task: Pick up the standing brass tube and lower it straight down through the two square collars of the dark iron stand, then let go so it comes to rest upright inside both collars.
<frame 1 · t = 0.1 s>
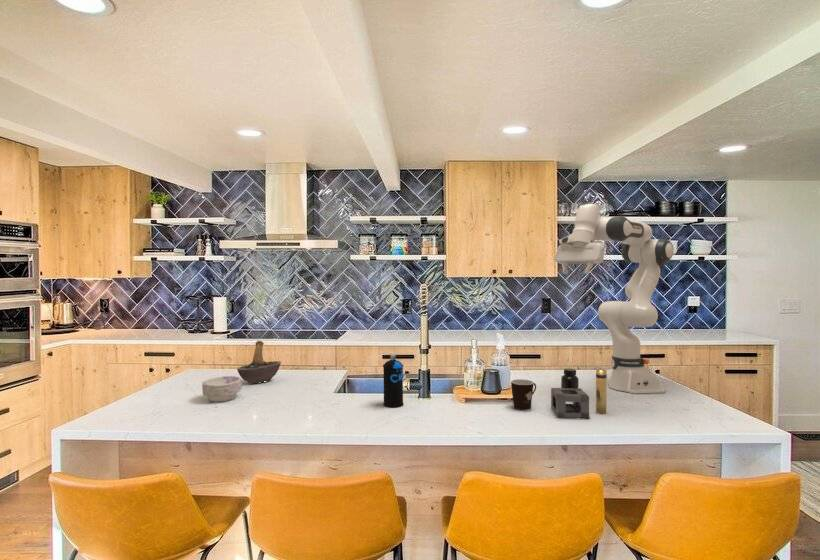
hand: (575, 273, 178), 52 cm above the worktop, tool tilted 20°, fingers open, 8 cm apart
coffee mug: (525, 407, 174), on the worktop
collar stand: (569, 413, 166), on the worktop
aerosol can: (393, 405, 178), on the worktop
grey stone bowl: (222, 399, 188), on the worktop
mortar and pestle: (259, 382, 214), on the worktop
supplement bottle: (569, 398, 186), on the worktop
brass tube: (601, 412, 167), on the worktop
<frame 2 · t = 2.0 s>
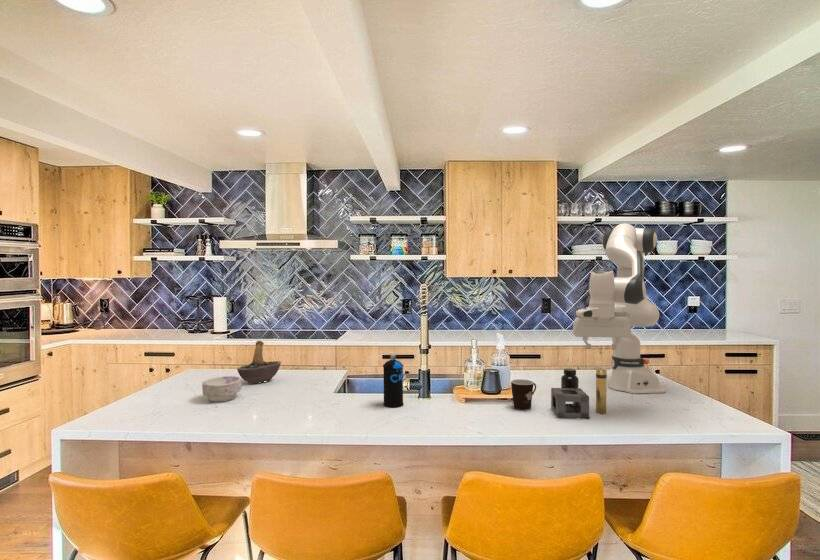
hand: (601, 349, 166), 24 cm above the worktop, tool pointing down, fingers open, 8 cm apart
nothing on the worktop moved.
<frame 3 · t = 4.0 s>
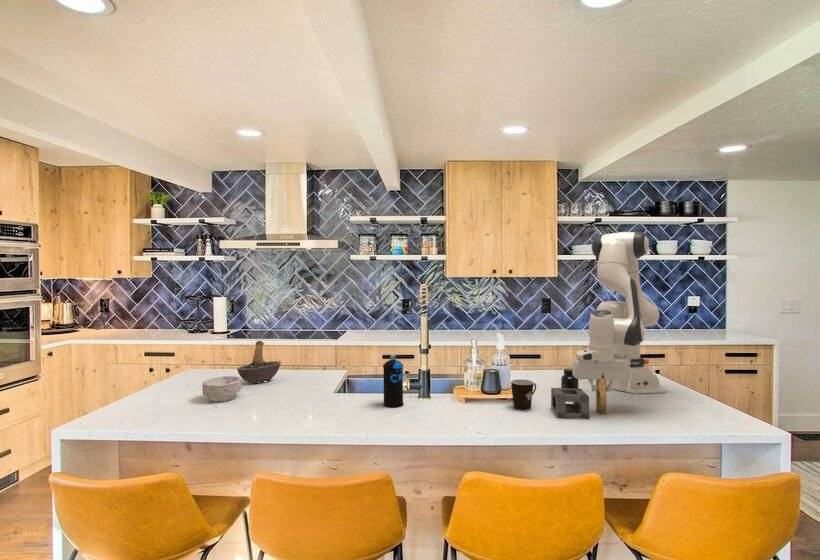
hand: (601, 391, 167), 8 cm above the worktop, tool pointing down, fingers closed on brass tube, 4 cm apart
brass tube: (601, 412, 167), on the worktop, touching gripper
everything else where it was.
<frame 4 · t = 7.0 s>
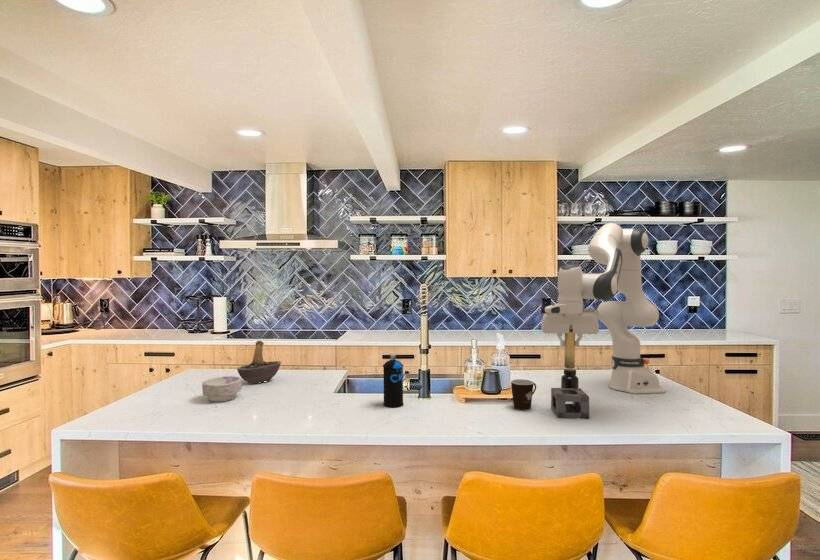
hand: (569, 345, 165), 25 cm above the worktop, tool pointing down, fingers closed on brass tube, 4 cm apart
brass tube: (569, 367, 165), point 17 cm above the worktop, touching gripper
everything else where it was.
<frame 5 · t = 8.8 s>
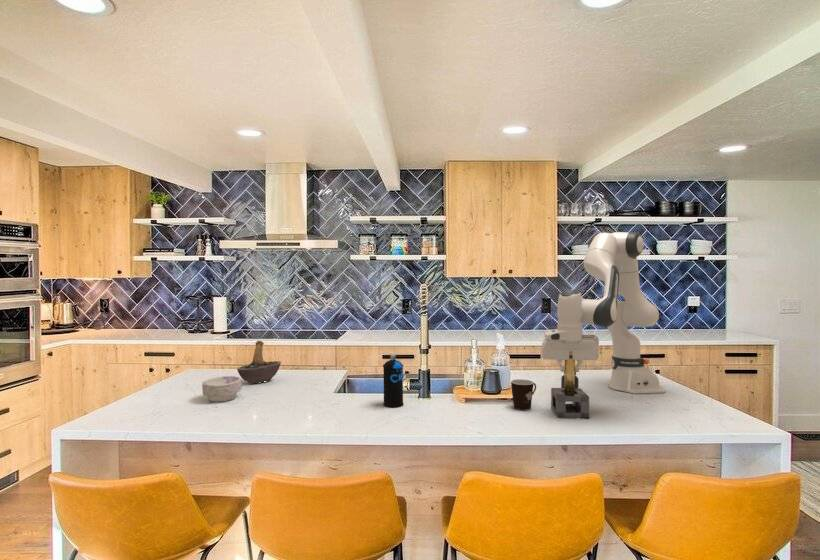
hand: (569, 371, 166), 16 cm above the worktop, tool pointing down, fingers closed on brass tube, 4 cm apart
brass tube: (569, 393, 166), point 8 cm above the worktop, touching gripper
everything else where it was.
when the fingers open (10 cm above the worktop, at t = 10.3 s): brass tube drops 2 cm, resting in collar stand.
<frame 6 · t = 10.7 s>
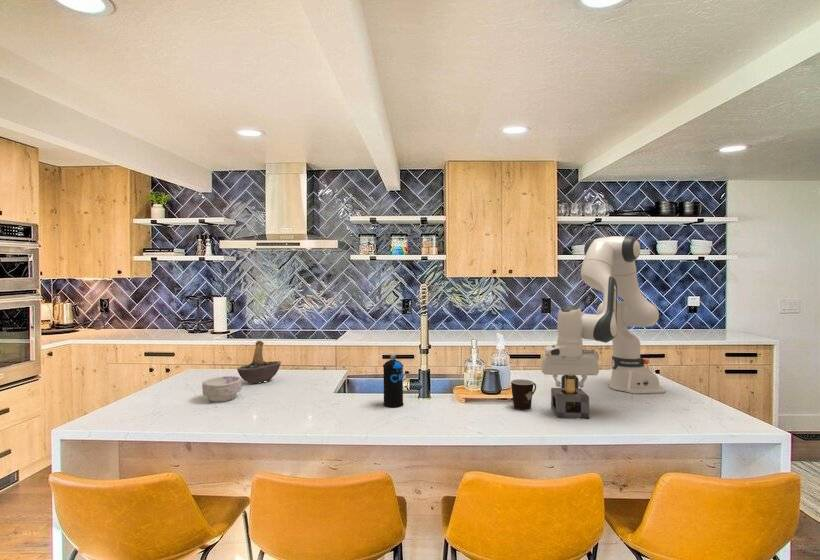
hand: (569, 386, 166), 10 cm above the worktop, tool pointing down, fingers open, 7 cm apart
brass tube: (569, 413, 166), resting in collar stand
everything else where it was.
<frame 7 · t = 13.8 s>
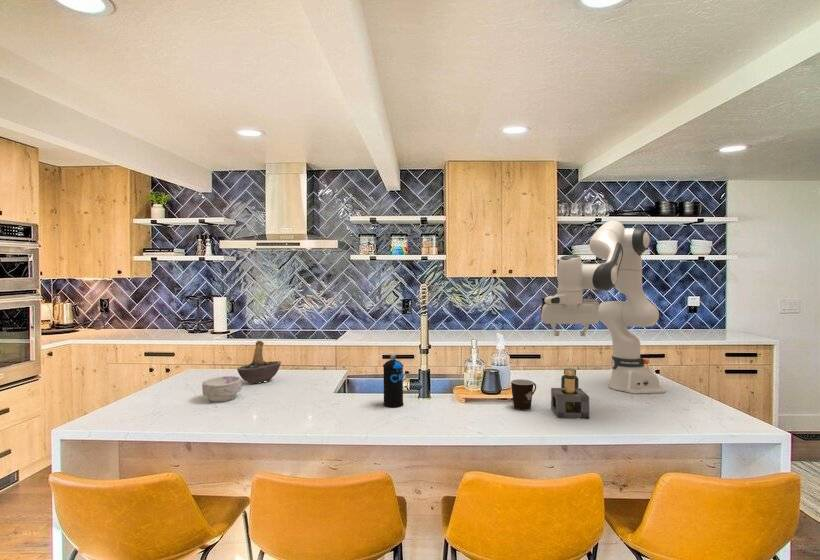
hand: (569, 335, 165), 29 cm above the worktop, tool pointing down, fingers open, 8 cm apart
nothing on the worktop moved.
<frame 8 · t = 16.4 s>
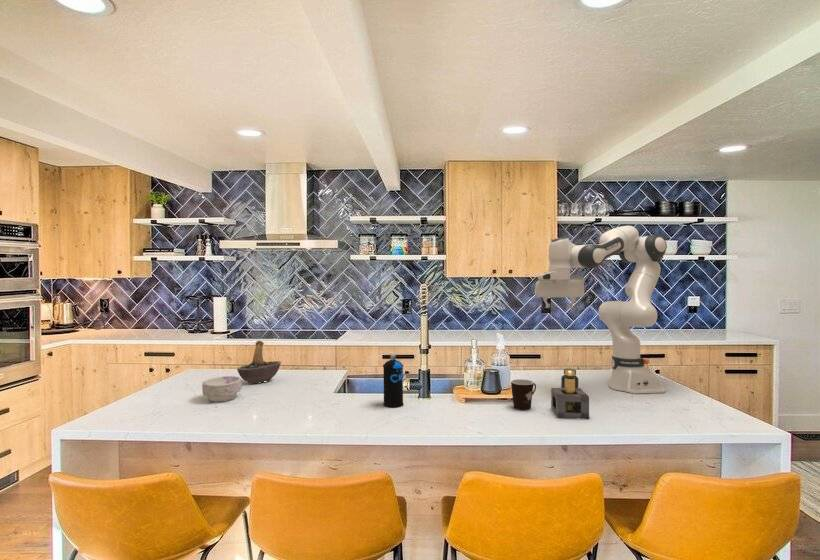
hand: (559, 307, 191), 37 cm above the worktop, tool pointing down, fingers open, 8 cm apart
nothing on the worktop moved.
at the end: brass tube 0.1 cm off-centre on the collar stand, point 0.0 cm above the collar stand's base; brass tube tilted 0°; the gripper is holding nothing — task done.
